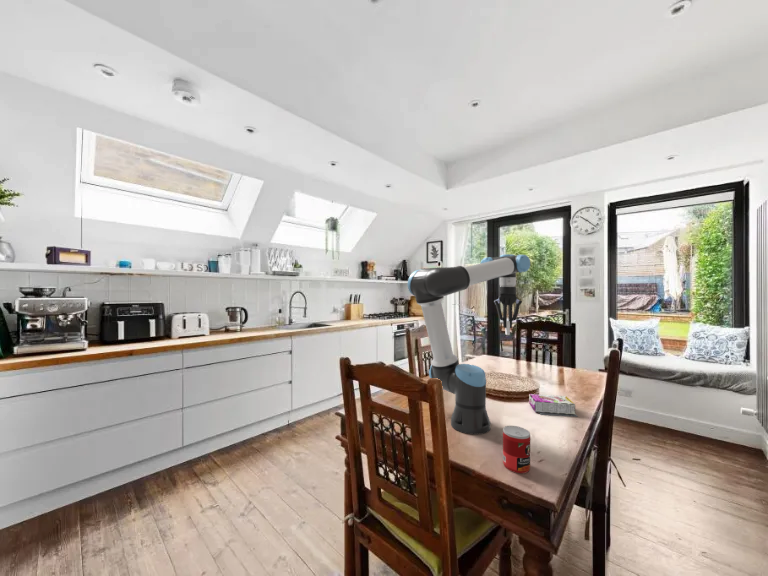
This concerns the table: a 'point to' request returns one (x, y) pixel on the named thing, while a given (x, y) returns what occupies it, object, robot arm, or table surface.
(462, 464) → the table surface
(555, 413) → the mat
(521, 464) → the canned food
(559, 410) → the candy bar box
